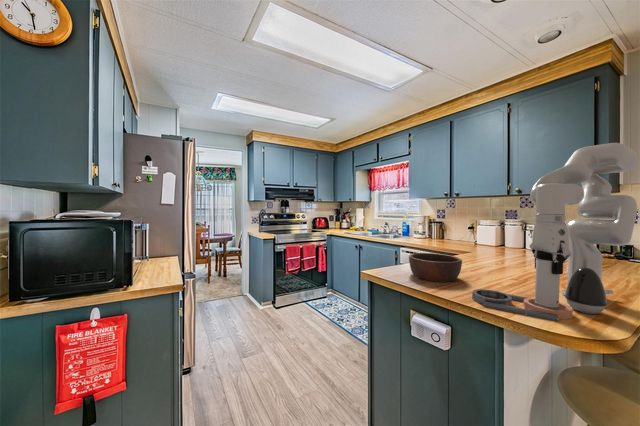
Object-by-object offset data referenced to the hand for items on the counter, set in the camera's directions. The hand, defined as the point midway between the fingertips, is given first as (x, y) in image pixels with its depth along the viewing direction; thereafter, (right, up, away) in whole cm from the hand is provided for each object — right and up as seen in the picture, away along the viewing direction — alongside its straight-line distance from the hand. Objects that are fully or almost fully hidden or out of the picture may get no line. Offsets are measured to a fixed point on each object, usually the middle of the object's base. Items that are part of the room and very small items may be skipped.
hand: (548, 270), depth 89 cm
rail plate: (-8, -14, +6) cm, 17 cm away
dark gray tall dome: (+14, -14, +1) cm, 20 cm away
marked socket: (0, -14, 0) cm, 14 cm away
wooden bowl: (-20, -13, +44) cm, 50 cm away
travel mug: (0, -13, 0) cm, 13 cm away
